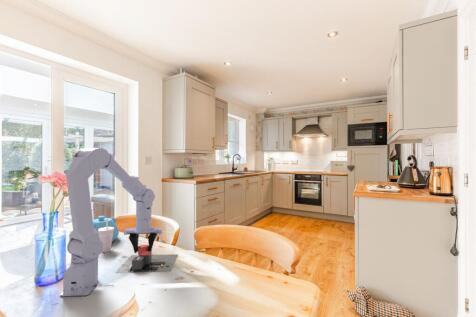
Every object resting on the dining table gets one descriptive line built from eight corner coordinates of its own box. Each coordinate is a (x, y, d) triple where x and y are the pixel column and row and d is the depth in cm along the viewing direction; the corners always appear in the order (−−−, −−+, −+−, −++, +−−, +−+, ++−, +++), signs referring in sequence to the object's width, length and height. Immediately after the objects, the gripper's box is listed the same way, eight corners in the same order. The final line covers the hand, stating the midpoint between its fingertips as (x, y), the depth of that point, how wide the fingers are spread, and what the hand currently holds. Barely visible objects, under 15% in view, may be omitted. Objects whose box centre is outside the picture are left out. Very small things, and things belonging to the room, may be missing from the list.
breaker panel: (170, 274, 81) (170, 268, 81) (114, 276, 79) (114, 270, 79) (178, 257, 96) (178, 251, 96) (131, 258, 94) (131, 252, 94)
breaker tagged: (148, 264, 85) (149, 254, 85) (140, 264, 85) (140, 254, 85) (151, 260, 88) (151, 251, 88) (142, 260, 88) (143, 251, 88)
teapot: (98, 250, 102) (98, 222, 102) (61, 247, 106) (61, 219, 106) (128, 236, 121) (128, 212, 121) (95, 234, 125) (96, 210, 125)
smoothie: (117, 248, 105) (117, 217, 105) (107, 253, 99) (108, 221, 99) (103, 247, 106) (104, 217, 106) (93, 252, 99) (94, 220, 99)
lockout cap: (146, 258, 90) (146, 248, 90) (136, 258, 90) (136, 248, 90) (149, 254, 94) (150, 244, 94) (139, 254, 94) (140, 244, 94)
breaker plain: (141, 269, 81) (141, 259, 81) (131, 269, 81) (132, 260, 81) (144, 265, 84) (144, 256, 84) (135, 265, 84) (135, 256, 84)
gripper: (164, 215, 97) (164, 247, 97) (129, 215, 96) (128, 248, 96) (160, 219, 90) (159, 254, 90) (121, 220, 89) (121, 255, 89)
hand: (143, 252), depth 92 cm, fingers open, 5 cm apart
